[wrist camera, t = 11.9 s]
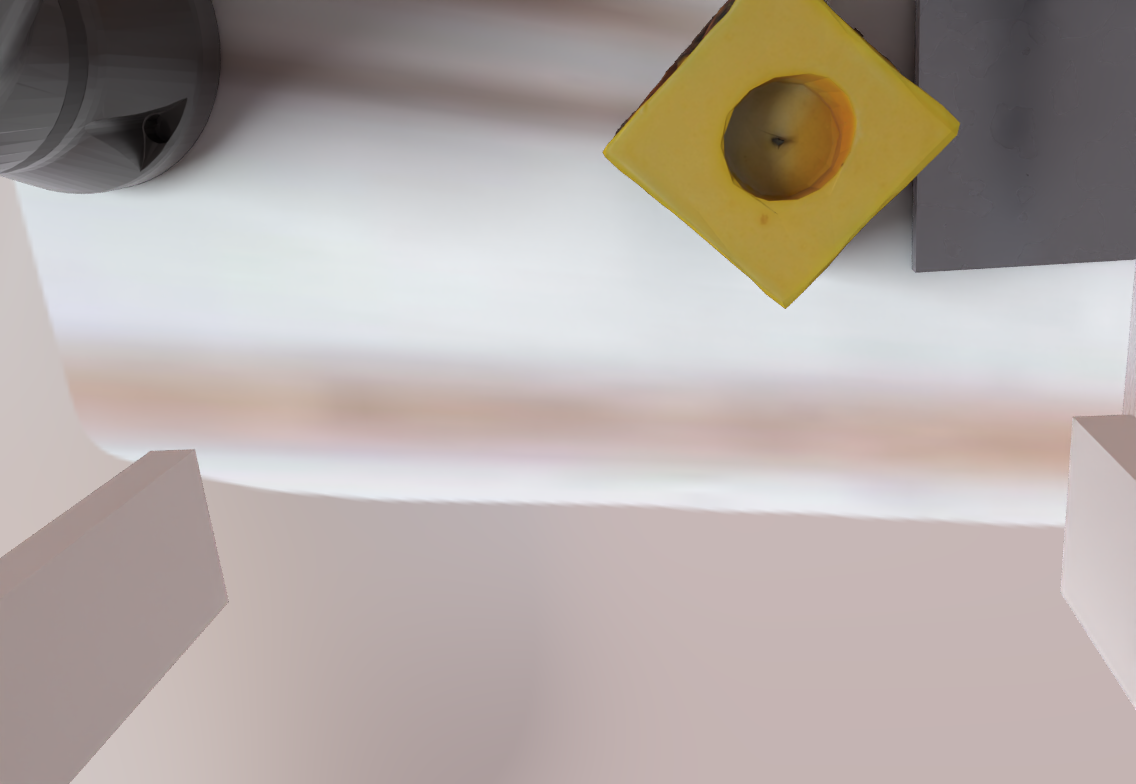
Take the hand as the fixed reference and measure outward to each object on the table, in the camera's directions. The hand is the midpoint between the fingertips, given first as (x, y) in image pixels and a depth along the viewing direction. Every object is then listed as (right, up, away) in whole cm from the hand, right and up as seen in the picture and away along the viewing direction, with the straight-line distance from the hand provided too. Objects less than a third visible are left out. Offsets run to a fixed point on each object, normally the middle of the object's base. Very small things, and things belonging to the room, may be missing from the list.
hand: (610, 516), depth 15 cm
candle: (+9, +15, +33) cm, 37 cm away
